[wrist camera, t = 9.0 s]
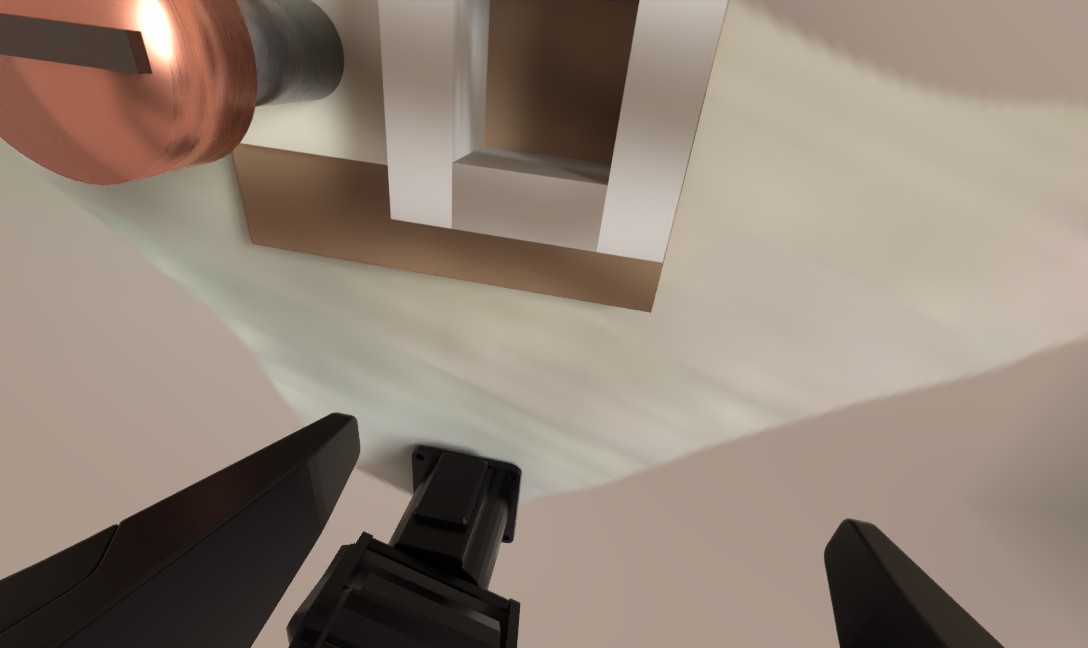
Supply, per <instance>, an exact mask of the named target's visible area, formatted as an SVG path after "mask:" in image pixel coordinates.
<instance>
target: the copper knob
mask: <svg viewBox="0 0 1088 648" xmlns="http://www.w3.org/2000/svg"><path fill="white" fill-rule="evenodd" d="M343 70H344V52H343V47H342V43H341V39H340V37H339V34H338V32H337V30H336V28H335V26H334V24H333V22H332V21H331V19H330V18H329V17H328V15H327V14H326V13H325V12H324V11H323V10H322V9H321V8H320V7H319V6H318V5H317V4H315V3H314V2H312V1H311V0H0V137H1V138H2V139H4V140H5V141H6V142H7V143H8V144H10V145H11V146H12V147H14V148H15V149H16V150H18V151H19V152H21V153H22V154H23V155H25V156H26V157H28V158H29V159H31V160H33V161H35V162H36V163H38V164H40V165H41V166H43V167H45V168H47V169H49V170H51V171H53V172H55V173H57V174H60V175H62V176H65V177H68V178H71V179H73V180H77V181H81V182H86V183H91V184H101V185H108V184H119V183H123V182H128V181H132V180H136V179H141V178H145V177H149V176H154V175H158V174H162V173H167V172H171V171H175V170H180V169H184V168H188V167H193V166H197V165H201V164H206V163H210V162H214V161H216V160H218V159H220V158H223V157H224V156H226V155H227V154H229V153H230V152H231V151H233V150H234V149H235V148H236V147H237V146H238V144H239V143H240V142H241V141H242V139H243V138H244V136H245V135H246V133H247V131H248V129H249V127H250V124H251V122H252V119H253V115H254V111H255V107H259V106H268V105H277V104H286V103H295V102H304V101H313V100H320V99H323V98H325V97H327V96H329V95H330V94H331V93H332V92H333V91H334V90H335V89H336V88H337V86H338V85H339V83H340V81H341V78H342V75H343Z"/></svg>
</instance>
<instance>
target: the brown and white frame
mask: <svg viewBox="0 0 1088 648" xmlns="http://www.w3.org/2000/svg"><path fill="white" fill-rule="evenodd" d="M311 1H312V2H314V3H315V4H317V5H318V6H319V7H320V8H321V9H322V10H323V11H324V12H325V13H326V14H327V15H328V17H329V18H330V19H331V21H332V22H333V24H334V26H335V28H336V30H337V32H338V34H339V37H340V39H341V43H342V47H343V52H344V70H343V75H342V78H341V81H340V83H339V85H338V86H337V88H336V89H335V90H334V91H333V92H332V93H331V94H330V95H329V96H327V97H325V98H323V99H320V100H313V101H304V102H295V103H286V104H277V105H268V106H259V107H255V111H254V115H253V119H252V122H251V124H250V127H249V129H248V131H247V133H246V135H245V136H244V138H243V139H242V141H241V142H240V143H239V144H238V146H237V147H236V148H235V149H234V150H233V151H232V153H233V158H234V163H235V167H236V172H237V176H238V181H239V186H240V190H241V195H242V200H243V204H244V209H245V214H246V218H247V223H248V227H249V232H250V237H251V241H252V244H256V245H262V246H267V247H273V248H279V249H285V250H291V251H297V252H302V253H308V254H314V255H320V256H326V257H331V258H337V259H343V260H349V261H355V262H360V263H366V264H372V265H378V266H384V267H390V268H395V269H401V270H407V271H413V272H419V273H424V274H430V275H436V276H442V277H448V278H454V279H459V280H465V281H471V282H477V283H483V284H488V285H494V286H500V287H506V288H512V289H517V290H523V291H529V292H535V293H541V294H547V295H552V296H558V297H564V298H570V299H576V300H581V301H587V302H593V303H599V304H605V305H610V306H616V307H622V308H628V309H634V310H640V311H645V312H651V310H652V306H653V302H654V298H655V294H656V290H657V286H658V282H659V278H660V274H661V270H662V266H663V262H664V258H665V254H666V250H667V246H668V242H669V238H670V234H671V230H672V226H673V223H674V219H675V215H676V211H677V207H678V203H679V199H680V195H681V191H682V187H683V183H684V179H685V175H686V171H687V167H688V163H689V159H690V155H691V151H692V147H693V143H694V139H695V135H696V131H697V127H698V123H699V119H700V115H701V111H702V107H703V103H704V99H705V95H706V91H707V87H708V83H709V79H710V75H711V71H712V67H713V63H714V59H715V55H716V51H717V47H718V43H719V39H720V35H721V31H722V27H723V23H724V19H725V15H726V11H727V7H728V3H729V0H311Z"/></svg>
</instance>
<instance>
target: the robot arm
mask: <svg viewBox="0 0 1088 648" xmlns="http://www.w3.org/2000/svg"><path fill="white" fill-rule="evenodd" d="M359 454H360V439H359V431H358V423H357V419H356V418H355V417H354V416H352V415H347V414H342V413H332V414H329V415H328V416H326V417H324V418H322V419H320V420H318V421H316V422H314V423H312V424H310V425H308V426H306V427H304V428H302V429H300V430H298V431H296V432H294V433H292V434H291V435H288V436H287V437H285V438H283V439H281V440H279V441H277V442H275V443H273V444H271V445H269V446H267V447H265V448H263V449H261V450H259V451H257V452H255V453H253V454H251V455H249V456H247V457H245V458H243V459H242V460H240V461H238V462H236V463H234V464H232V465H230V466H228V467H226V468H224V469H222V470H220V471H218V472H216V473H214V474H212V475H210V476H208V477H206V478H205V479H202V480H201V481H199V482H197V483H195V484H193V485H191V486H189V487H187V488H185V489H183V490H181V491H179V492H177V493H175V494H173V495H172V496H169V497H167V498H165V499H163V500H161V501H160V502H158V503H156V504H154V505H152V506H150V507H148V508H146V509H144V510H142V511H140V512H138V513H136V514H134V515H132V516H130V517H128V518H126V519H124V520H123V521H121V522H120V524H119V525H117V524H115V525H112V526H110V527H108V528H106V529H104V530H102V531H101V532H99V533H97V534H95V535H93V536H91V537H89V538H87V539H85V540H83V541H81V542H79V543H77V544H75V545H73V546H71V547H69V548H67V549H65V550H63V551H61V552H59V553H57V554H54V555H53V556H50V557H49V558H46V559H44V560H42V561H40V562H38V563H36V564H34V565H32V566H30V567H28V568H25V569H23V570H21V571H19V572H17V573H14V574H12V575H10V576H8V577H6V578H4V579H2V580H0V648H251V646H252V644H253V643H254V641H255V639H256V638H257V636H258V635H259V633H260V632H261V630H262V628H263V627H264V624H265V623H266V622H267V620H268V619H269V617H270V615H271V614H272V612H273V611H274V609H275V607H276V606H277V604H278V602H279V601H280V599H281V598H282V596H283V595H284V593H285V591H286V590H287V588H288V586H289V585H290V583H291V582H292V580H293V578H294V577H295V575H296V574H297V572H298V570H299V569H300V567H301V566H302V564H303V562H304V561H305V559H306V557H307V556H308V554H309V553H310V551H311V550H312V548H313V546H314V545H315V543H316V541H317V540H318V538H319V536H320V535H321V533H322V531H323V529H324V527H325V525H326V523H327V521H328V519H329V517H330V515H331V513H332V511H333V509H334V507H335V505H336V503H337V501H338V499H339V497H340V495H341V493H342V490H343V489H344V487H345V485H346V482H347V480H348V478H349V476H350V474H351V472H352V470H353V468H354V466H355V464H356V462H357V460H358V457H359ZM412 467H413V488H414V495H413V497H412V499H411V501H410V503H409V505H408V507H407V509H406V511H405V513H404V515H403V516H402V519H401V520H400V522H399V524H398V527H397V528H396V530H395V532H394V534H393V536H392V538H391V540H390V541H389V543H388V544H385V543H383V542H381V541H379V540H377V539H374V538H373V535H370V534H368V533H366V532H363V533H362V534H361V536H360V537H359V539H358V541H357V542H356V544H355V543H354V544H351V545H342V546H341V548H340V549H339V551H338V553H337V554H336V556H335V557H334V559H333V561H332V562H331V564H330V566H329V567H328V569H327V570H326V572H325V573H324V575H323V576H322V578H321V579H320V581H319V582H318V583H317V585H316V586H315V587H314V589H313V590H312V591H311V593H310V594H309V595H308V597H307V598H306V599H305V600H304V602H303V603H302V604H301V606H300V607H299V608H298V610H297V611H296V612H295V614H294V615H293V617H292V618H291V620H290V622H289V624H288V626H287V628H286V630H287V636H288V641H289V648H517V638H518V627H519V613H520V602H517V601H515V600H513V599H509V600H508V599H506V598H504V597H502V596H499V595H497V594H495V593H493V592H490V591H489V590H488V586H489V583H490V579H491V576H492V572H493V569H494V565H495V562H496V558H497V555H498V551H499V547H500V544H501V542H504V543H511V542H512V541H513V539H514V534H515V527H516V518H517V510H518V502H519V493H520V484H521V476H522V471H521V469H520V468H519V467H517V466H514V465H510V464H505V463H500V462H496V461H491V460H486V459H481V458H476V457H472V456H467V455H462V454H457V453H453V452H448V451H443V450H438V449H433V448H429V447H424V446H418V447H416V448H415V450H414V452H413V453H412ZM513 474H514V475H513ZM824 562H825V568H826V573H827V579H828V584H829V590H830V596H831V601H832V607H833V613H834V618H835V623H836V629H837V635H838V640H839V645H840V648H1004V647H1003V646H1002V645H1001V644H1000V643H999V642H998V641H997V640H996V639H995V638H994V637H993V636H992V635H991V634H990V633H989V632H988V631H986V630H985V629H984V628H983V627H982V626H981V625H980V624H979V623H978V622H977V621H976V620H975V619H974V618H972V616H971V615H970V614H969V613H967V612H966V611H965V610H964V609H963V608H962V607H961V606H960V605H959V604H958V603H957V602H956V601H955V600H954V599H953V598H952V597H951V596H949V595H948V594H947V593H946V592H945V591H944V590H943V589H942V588H941V587H940V586H939V585H938V584H937V583H936V582H934V580H933V579H931V578H930V577H929V576H928V575H927V574H926V573H925V572H924V571H923V570H922V569H921V568H920V567H919V566H918V565H917V564H915V563H914V562H913V561H912V560H911V559H910V558H909V557H908V556H907V555H906V554H905V553H904V552H903V551H902V550H901V549H900V548H899V547H898V546H897V545H895V544H894V543H893V542H892V541H891V540H890V539H889V538H888V537H887V536H886V535H885V534H884V533H883V532H882V531H881V530H880V529H879V528H877V527H876V526H875V525H873V524H871V523H869V522H865V521H860V520H855V519H845V520H843V521H842V523H841V524H840V525H839V527H838V528H837V530H836V532H835V533H834V535H833V536H832V538H831V539H830V541H829V542H828V544H827V546H826V548H825V551H824Z"/></svg>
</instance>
